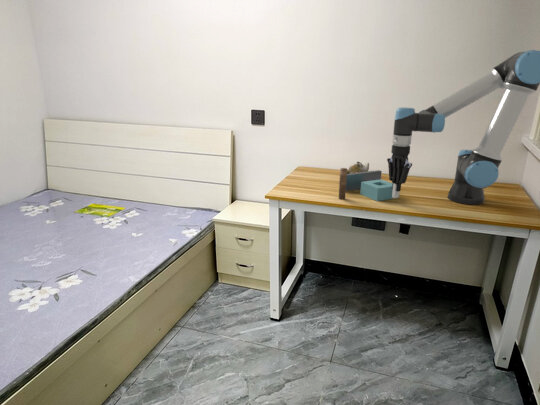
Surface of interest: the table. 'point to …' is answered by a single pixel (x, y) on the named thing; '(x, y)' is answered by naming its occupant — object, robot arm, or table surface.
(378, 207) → the table surface
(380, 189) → the block
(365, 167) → the ceramic sculpture
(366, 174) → the backstop
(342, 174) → the dowel
